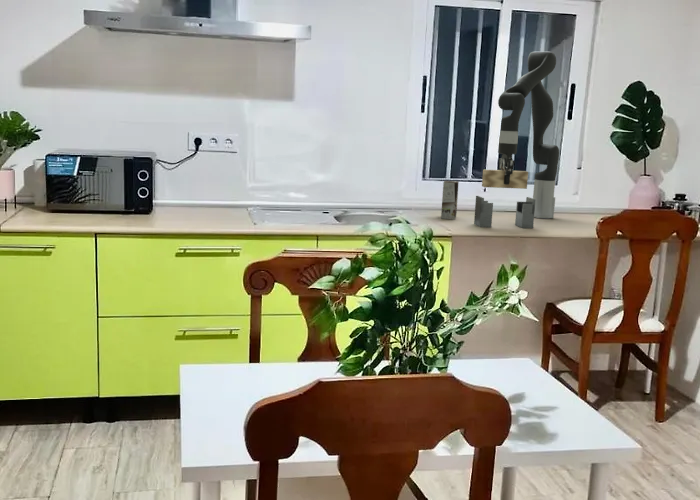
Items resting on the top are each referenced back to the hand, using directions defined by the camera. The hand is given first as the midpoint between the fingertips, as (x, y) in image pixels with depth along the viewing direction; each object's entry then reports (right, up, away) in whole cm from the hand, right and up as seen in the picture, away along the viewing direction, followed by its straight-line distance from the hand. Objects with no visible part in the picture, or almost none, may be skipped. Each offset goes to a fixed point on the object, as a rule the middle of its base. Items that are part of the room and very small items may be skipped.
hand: (504, 183), depth 313 cm
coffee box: (-21, -13, +20) cm, 32 cm away
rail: (0, -2, 0) cm, 2 cm away
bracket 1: (-9, -17, +1) cm, 20 cm away
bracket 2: (+9, -18, +4) cm, 20 cm away
